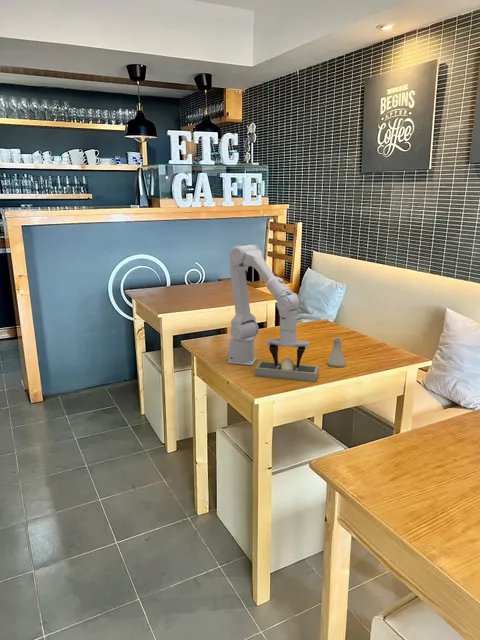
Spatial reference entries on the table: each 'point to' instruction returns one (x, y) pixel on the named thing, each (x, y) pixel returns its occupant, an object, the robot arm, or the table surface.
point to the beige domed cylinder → (287, 364)
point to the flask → (336, 355)
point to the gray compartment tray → (287, 371)
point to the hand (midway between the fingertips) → (287, 366)
